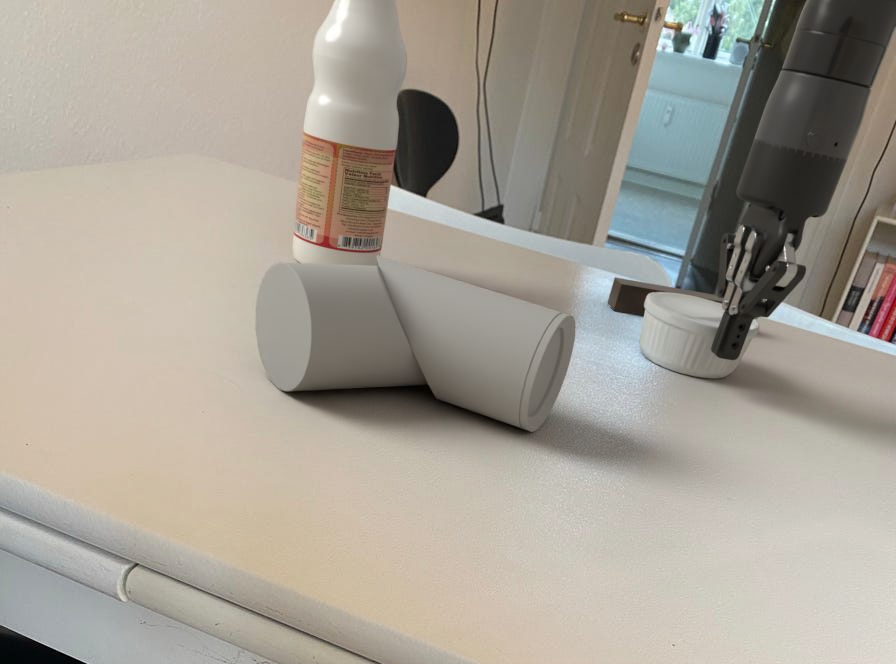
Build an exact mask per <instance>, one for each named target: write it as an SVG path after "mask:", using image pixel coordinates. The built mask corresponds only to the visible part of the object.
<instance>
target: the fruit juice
mask: <svg viewBox="0 0 896 664" xmlns="http://www.w3.org/2000/svg"><path fill="white" fill-rule="evenodd" d="M407 53H408V52H407V48H406V45H405V42H404V40H403V36H402V32H401V27H400V20H399V15H398V6H397V0H333V3H332V6H331V8H330V9H329V12H328V14H327V16H326V18H325V19H324V21H323V22H322V24H321V25H320V26H319V28H318V30H317V31H316V34H315V36H314V39H313V44H312V52H311V55H312V67H313V75H314V76H313V77H314V83H313V87H312V91H311V93H310V94H309V96H308V98H307V103H306V108H305V112H304V113H305V114H304V121H303V130H302V143H301V153H300V164H299V172H298V173H299V175H298V184H297V194H296V206H295V216H294V224H293V225H294V226H293V227H294V228H293V237H292V238H293V239H292V254H293V258H294V259H295V260H296V262H297V263H313V264H339V265H366V266H379V264H378V261H377V256H382V255H381V253H382V247H383V241H384V233H385V227H386V219H387V213H388V206H389V200H390V193H391V186H392V179H393V172H394V165H395V158H396V153H397V147H398V138H399V128H400V115H399V111H398V96H399V94H400V90H401V88H402V85H403V82H404V80H405V78H406V73H407V65H408V54H407Z"/></svg>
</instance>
